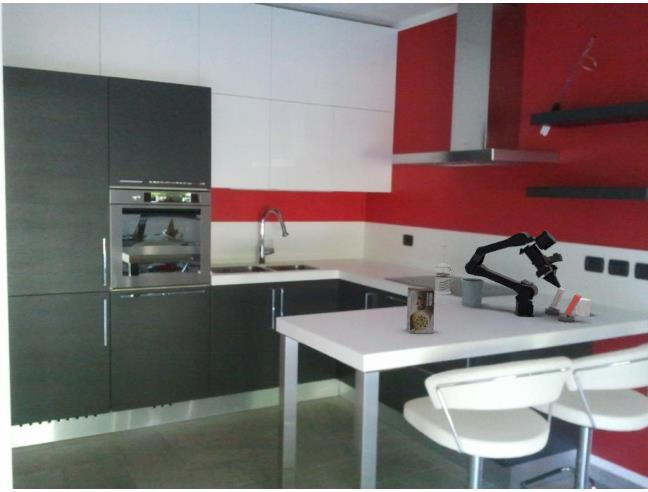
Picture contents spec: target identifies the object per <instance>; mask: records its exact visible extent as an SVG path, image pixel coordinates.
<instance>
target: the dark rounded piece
mask: <svg viewBox="0 0 648 492" xmlns="http://www.w3.org/2000/svg"><path fill="white" fill-rule="evenodd" d="M557 318H558V322H560V323H561V322H562V323H574V322H575V316H574V315H572V314H571V315H569V316H567V314H566V313H565V312H562V314H559V315H558V317H557Z"/></svg>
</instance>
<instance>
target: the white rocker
mask: <svg viewBox="0 0 648 492" xmlns="http://www.w3.org/2000/svg"><path fill="white" fill-rule="evenodd" d="M565 291H566V288H563V287H560V288H557V291H556V293H555V295H554V297H553V299H552V301H551V304H550V306H551V307H553V309H555V308H556V309H558V306H559V303H560V302H561V300H562V297H563V295H564V293H565Z"/></svg>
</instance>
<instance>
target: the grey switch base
mask: <svg viewBox="0 0 648 492" xmlns="http://www.w3.org/2000/svg"><path fill="white" fill-rule="evenodd" d="M544 314H546V315H547V316H559V315H561V311H560V309H559V308H555V309H553V307H551V305H549V306H548V307H545V308H544Z"/></svg>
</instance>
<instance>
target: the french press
mask: <svg viewBox="0 0 648 492" xmlns="http://www.w3.org/2000/svg"><path fill="white" fill-rule="evenodd" d="M446 246H447V245H446V244H442V245H441V247H442V248H446ZM442 257H443V258H442V259H443V262H442V263H441V262H440V263H438V264H436V265H435V268H438V269H439V268H440V269H447V270H449V271H450V272H451V273H452V274H455V272H454V271H455V270H453V269H452V266H451V265H450V264H448V263H445V261H444V258H445V255H443V256H442ZM435 274H436V276H435V277H434V289H433V290H434V291H435V292H434V294H441V295H450V294H452V291H451V283H452V282H453V281H454V279H455V277H451V276H450V275H451V274H450V273H446V272H436V273H435Z"/></svg>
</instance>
